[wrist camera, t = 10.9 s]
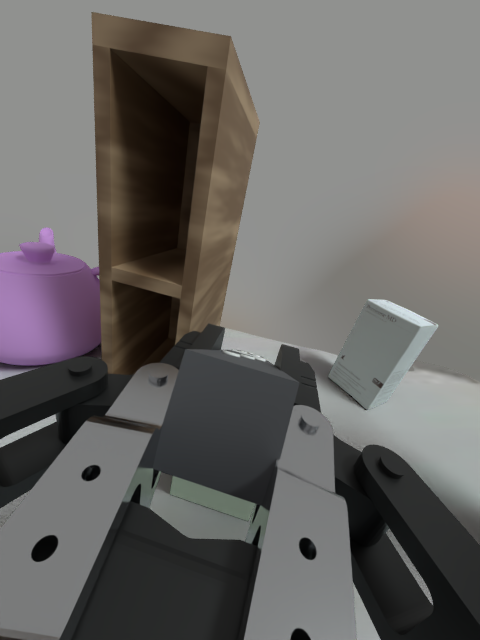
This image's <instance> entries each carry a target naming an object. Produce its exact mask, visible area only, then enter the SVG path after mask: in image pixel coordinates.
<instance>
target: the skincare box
mask: <svg viewBox="0 0 480 640" xmlns="http://www.w3.org/2000/svg"><path fill="white" fill-rule="evenodd" d="M437 327H438V325H437V324H436V323H433V322H431V321H430V320H428V319H426V318H424V317H421V316H419V315H417V314H416V313H414V312H412V311H410V310H408V309H405V308H403V307H401V306H399V305H396V304H394V303H392V302H390V301H387V300H372V299H368V300H367V302H366V303H365V306H364V307H363V309H362V311H361V313H360V315H359V317H358V319H357V321H356V323H355V325H354V327H353V328H352V330H351V332H350V334H349V336H348V338H347V340H346V342H345V344H344V346H343V348H342V350H341V352H340V354H339V355H338V357H337V359H336V361H335V363H334V365H333V367H332V369H331V371H330V373H329V378H330V379H331V380H332V381H334V382H335V383H336V384H337V385H339V386H340V387H341V388H342V389H343V390H345V391H346V392H347V393H348V394H350V395H351V396H352V397H353V398H354V399H355V400H356V401H357V402H359V403H360V404H361V405H362V406H363V407H364V408H365V409H367V410H368V409H371V408H373V407H376V406H378V405H381V404H383V403H386V402H387V401H388V399H389V398H390V396H391V395H392V393H393V392H394V390H395V389H396V387H397V386H398V384H399V383H400V381H401V380H402V379H403V377H404V376H405V374H406V373H407V371H408V370H409V368H410V367H411V365H412V364H413V363H414V361H415V360H416V358H417V357H418V355H419V354H420V352H421V351H422V349H423V348H424V346H425V345H426V343H427V342H428V340H429V339H430V338H431V336H432V335H433V333H434V332H435V330H436V329H437Z"/></svg>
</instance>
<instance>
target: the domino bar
mask: <svg viewBox="0 0 480 640" xmlns="http://www.w3.org/2000/svg"><path fill="white" fill-rule="evenodd" d="M298 387H299V382H298V381H296V380H295V379H293V378H292V377H291V376H289V375H288V374H286V373H285V372H283V371H281V370H279V369H278V368H277V367H275V366H274V365H273V364H272V363H270V362H269V361H267V359H264V358H263V357H261V356H258V355H254V354H253V353H249V352H244V351H241V350H233V349H232V350H204V349H185V352H184V355H183V359H182V362H181V365H180V368H179V372H178V375H177V378H176V381H175V385H174V388H173V391H172V394H171V398H170V401H169V404H168V407H167V411H166V414H165V417H164V420H163V426H162V430H161V434H160V438H159V443H158V447H157V451H156V455H155V459H154V464H153V468H152V469H155V470H158V471H161V472H164V473H167V474H169V475H172V476H175V477H178V478H181V479H184V480H187V481H190V482H193V483H196V484H199V485H202V486H205V487H208V488H211V489H214V490H217V491H219V492H222V493H225V494H228V495H231V496H234V497H237V498H240V499H243V500H246V501H249V502H252V503H255V504H258V505H262V502H263V499H264V496H265V493H266V490H267V487H268V484H269V481H270V478H271V474H272V471H273V468H274V465H275V462H276V459H280V457H281V453H282V449H283V446H284V442H285V438H286V434H287V430H288V426H289V422H290V418H291V414H292V410H293V406H294V402H295V399H296V395H297V391H298Z"/></svg>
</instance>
